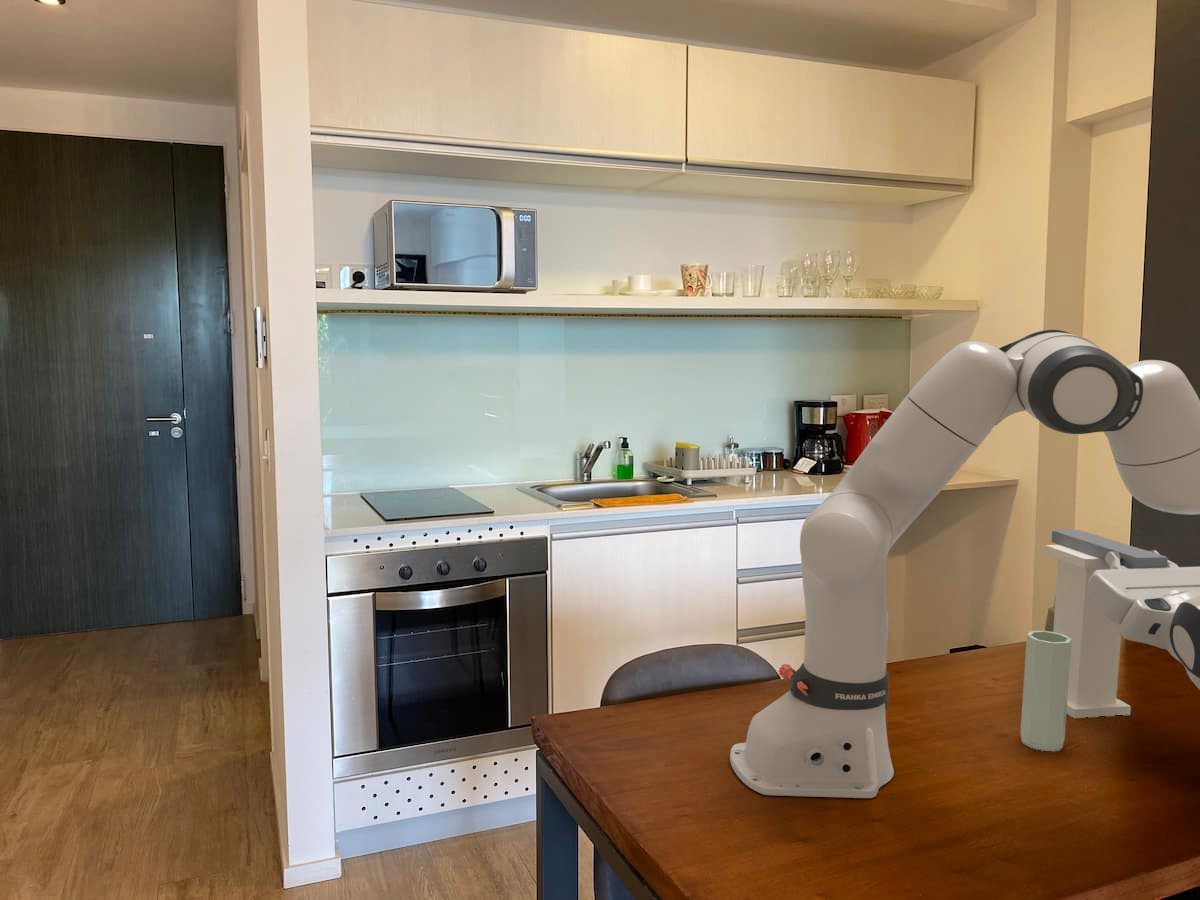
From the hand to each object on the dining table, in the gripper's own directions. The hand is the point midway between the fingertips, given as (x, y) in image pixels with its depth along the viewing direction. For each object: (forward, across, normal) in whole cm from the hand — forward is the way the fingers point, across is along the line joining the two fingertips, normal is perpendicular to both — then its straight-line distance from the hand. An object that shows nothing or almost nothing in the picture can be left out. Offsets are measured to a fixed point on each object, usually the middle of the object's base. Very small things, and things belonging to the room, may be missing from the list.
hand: (1129, 553), depth 140 cm
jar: (-18, +16, +21) cm, 32 cm away
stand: (-7, 0, +28) cm, 29 cm away
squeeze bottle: (+4, -6, +35) cm, 35 cm away
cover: (+4, 0, +4) cm, 5 cm away
